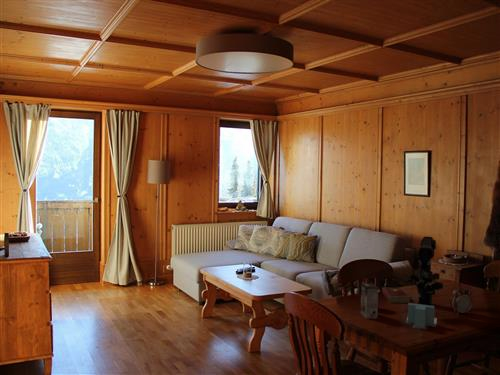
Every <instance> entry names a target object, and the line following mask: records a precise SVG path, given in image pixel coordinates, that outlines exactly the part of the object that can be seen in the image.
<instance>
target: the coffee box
mask: <svg viewBox="0 0 500 375" xmlns="http://www.w3.org/2000/svg"><path fill="white" fill-rule="evenodd" d="M378 290H379V287H378V286H377V285H375V283H373V282H371V283H369V282H362V283H360V314H361V316H363V317H364V318H365V319H378V316H379V315H378V312H379V310H378V309H379V300H378Z"/></svg>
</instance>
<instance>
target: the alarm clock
mask: <svg viewBox="0 0 500 375" xmlns="http://www.w3.org/2000/svg"><path fill="white" fill-rule="evenodd" d="M460 287H465V289H463V290H460V289H459V288H460ZM471 296H472V291H471V290H470V288H468V286H467V285H464V284H463V285H458V286H457V287H456V288H454V289H453V291H452V295H451V297H450V306H451V308H452V309H453V310H454V311H453V312H454V313H455V312H457V313H456V314H457V315H459V313H461V314H465V313H467V315H468V314H469V311H470V310H471V309H472V306H473V298H472V297H471Z"/></svg>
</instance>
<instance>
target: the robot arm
mask: <svg viewBox="0 0 500 375" xmlns="http://www.w3.org/2000/svg"><path fill="white" fill-rule="evenodd" d="M436 249H437V240H435V239H434V238H433V237H432V236H425V235H424V236H423V238H422V239H420V247H419V248H418V250H417V257H418V263H419V266H418V267H419V268H418V271H417V274H418V275H415V274H409V275H406V276H405V279H404V280H405V282H407V283H412V282H415V283H416V284H414V285H415V286H416V288H417V294H418V301H417V302H416V304H421V305H429V306H434V305H435V304H434V303H433V296H434V295H436V291H439V290H442V289H444V284H443V282H440V281H437V280H440V273H437V272H434V273H433V271H432V269H431V268H432V259H433V258H434V257H435V253H436V252H435V250H436Z"/></svg>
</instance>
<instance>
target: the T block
mask: <svg viewBox="0 0 500 375" xmlns="http://www.w3.org/2000/svg"><path fill="white" fill-rule="evenodd" d="M407 317H408V323H407V324H410V323H415V327H416V328H415V329H419V328H423V329H422V330H426V329H425V325H429V326H428V327H432V326H434V318H435V306H434V305H421V304H419V303H413V302H410V303H407Z"/></svg>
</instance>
